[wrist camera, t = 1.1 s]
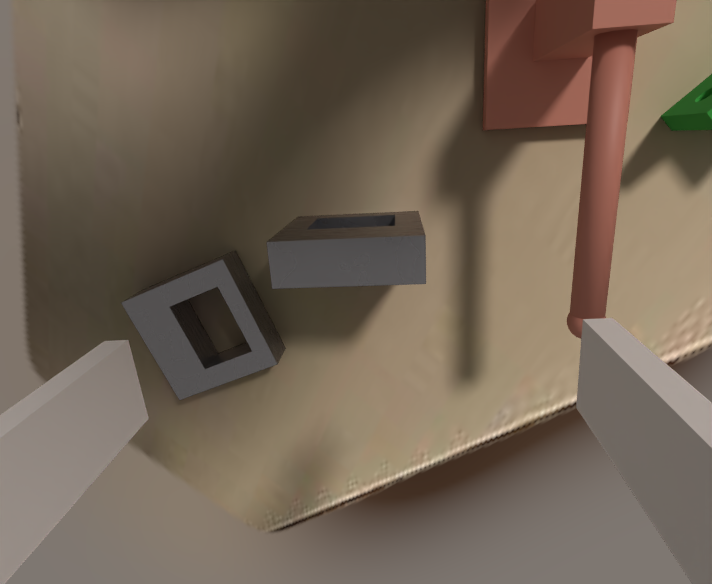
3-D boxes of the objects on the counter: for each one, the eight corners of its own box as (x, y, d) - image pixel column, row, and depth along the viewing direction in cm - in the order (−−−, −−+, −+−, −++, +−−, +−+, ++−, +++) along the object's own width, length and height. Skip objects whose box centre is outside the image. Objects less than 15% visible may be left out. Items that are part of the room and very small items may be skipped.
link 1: (140, 291, 34) (120, 302, 32) (235, 250, 32) (222, 259, 30) (193, 382, 36) (179, 400, 34) (285, 348, 34) (277, 364, 32)
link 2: (297, 216, 31) (266, 242, 24) (418, 210, 31) (425, 235, 23) (301, 252, 32) (272, 288, 25) (418, 248, 31) (425, 283, 24)
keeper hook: (487, -63, 26) (536, -172, 17) (641, -79, 25) (781, -201, 16) (478, 291, 32) (511, 352, 23) (601, 287, 31) (684, 349, 22)
